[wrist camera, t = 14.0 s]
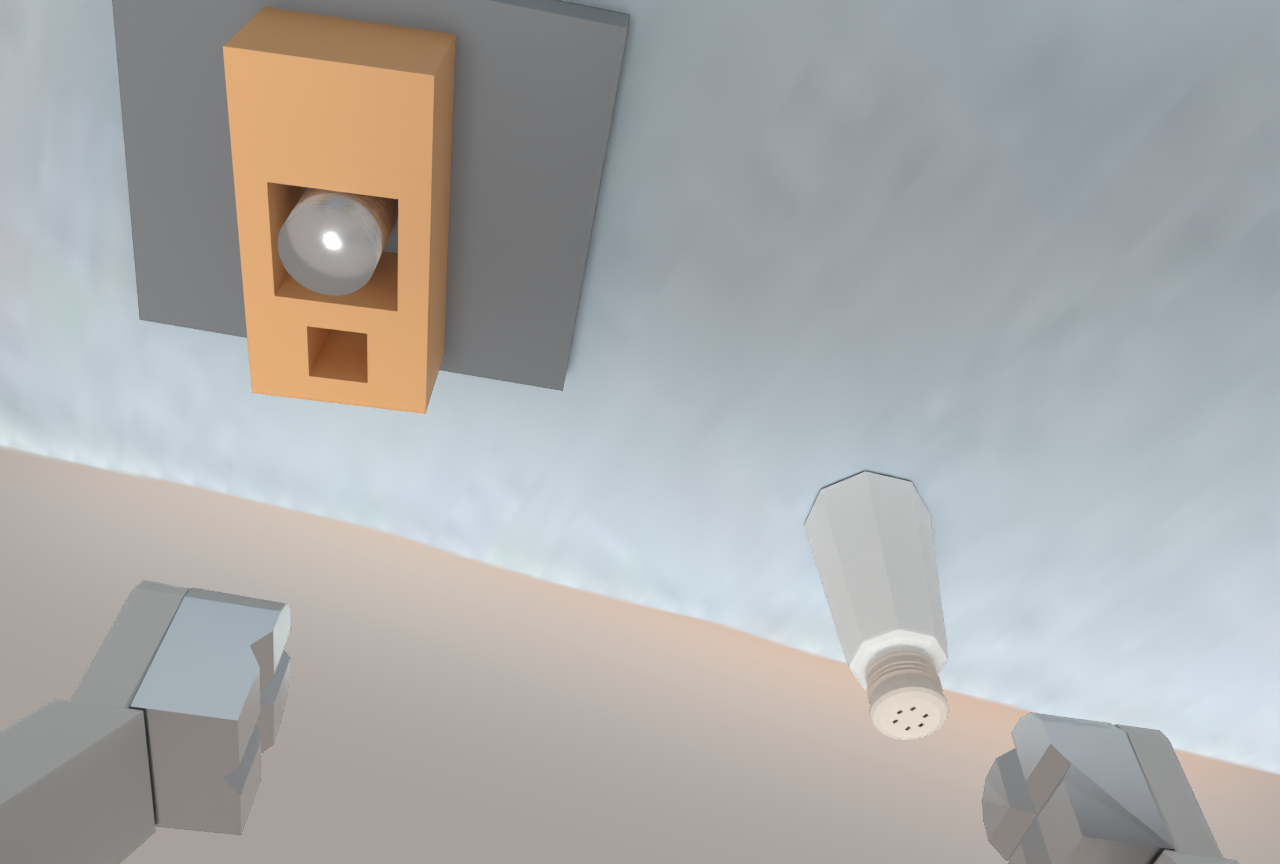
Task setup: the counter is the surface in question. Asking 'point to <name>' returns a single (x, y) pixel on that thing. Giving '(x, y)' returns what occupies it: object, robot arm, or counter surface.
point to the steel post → (335, 239)
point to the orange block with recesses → (353, 163)
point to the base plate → (478, 219)
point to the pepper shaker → (884, 597)
